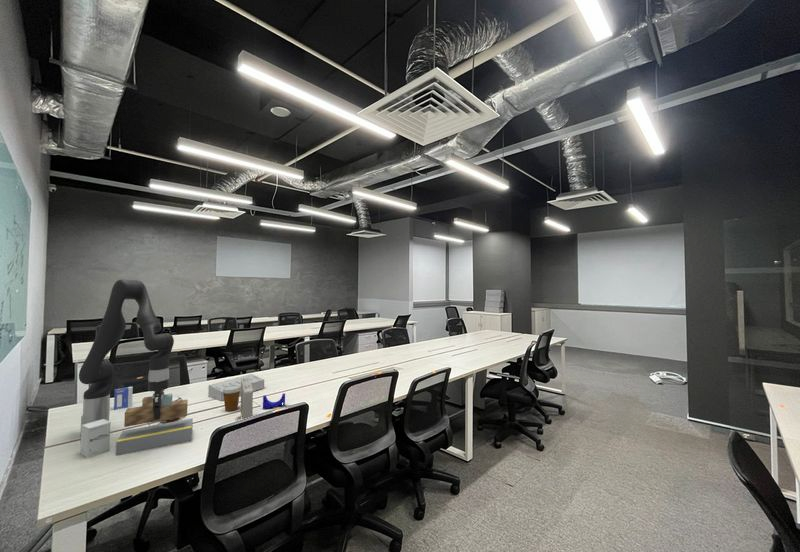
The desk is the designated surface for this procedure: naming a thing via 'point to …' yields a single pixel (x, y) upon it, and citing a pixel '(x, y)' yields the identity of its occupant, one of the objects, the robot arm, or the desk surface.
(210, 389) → the warehouse
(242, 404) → the network device
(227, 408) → the disposable coffee cup
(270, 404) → the blue arch block
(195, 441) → the desk surface
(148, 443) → the block
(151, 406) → the crate kraft
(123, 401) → the walkman
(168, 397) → the crate teal
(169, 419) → the food container
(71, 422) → the desk surface
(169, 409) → the brown stepped block
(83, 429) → the supplement box
